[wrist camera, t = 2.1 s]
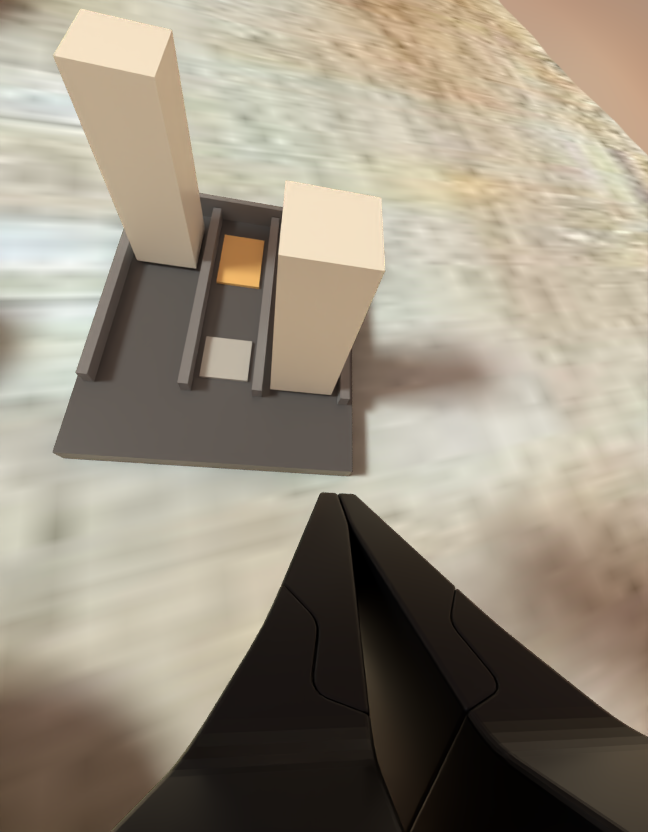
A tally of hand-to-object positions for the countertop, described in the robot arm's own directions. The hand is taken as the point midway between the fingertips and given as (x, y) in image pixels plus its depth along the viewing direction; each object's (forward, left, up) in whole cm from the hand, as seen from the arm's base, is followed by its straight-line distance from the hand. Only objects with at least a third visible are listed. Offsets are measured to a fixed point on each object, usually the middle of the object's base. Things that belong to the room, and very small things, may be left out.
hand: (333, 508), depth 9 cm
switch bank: (+15, -3, -14) cm, 20 cm away
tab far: (+22, -1, -12) cm, 25 cm away
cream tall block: (+9, -5, -12) cm, 16 cm away
